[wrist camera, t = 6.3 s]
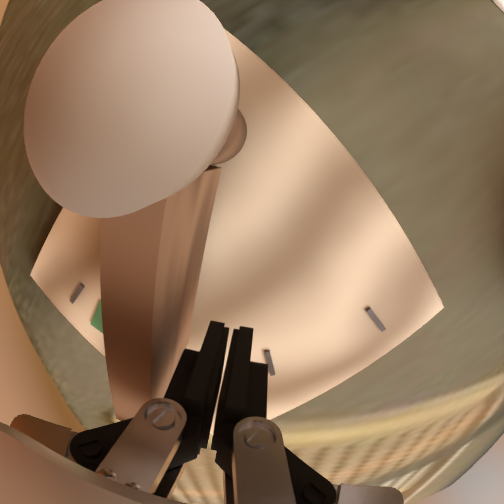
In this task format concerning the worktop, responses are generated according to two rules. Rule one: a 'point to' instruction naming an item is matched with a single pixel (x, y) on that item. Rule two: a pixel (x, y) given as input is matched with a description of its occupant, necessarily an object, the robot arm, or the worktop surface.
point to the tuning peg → (139, 166)
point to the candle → (499, 4)
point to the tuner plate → (277, 253)
